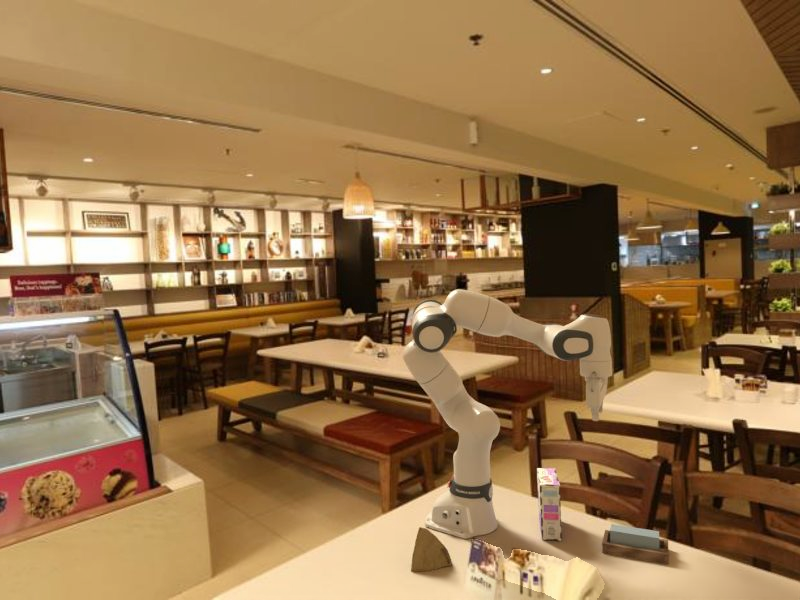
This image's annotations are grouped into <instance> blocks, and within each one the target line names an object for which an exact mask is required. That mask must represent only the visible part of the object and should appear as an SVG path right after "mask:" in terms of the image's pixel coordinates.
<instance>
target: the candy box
mask: <svg viewBox="0 0 800 600" xmlns="http://www.w3.org/2000/svg"><path fill="white" fill-rule="evenodd" d="M536 481H537V500H538V502H537V503H538V516H539V517H538V519H539V529H540V534H541V540H542V541H555V542H556V541H557V542H561V541H563V536H562V509H561V508H562V507H561V506H562V505H561V484H560V480H559V477H558V473H557V470H556V468H555V467H553V468H552V467H546V468H545V467H544V468H543V467H537V468H536Z"/></svg>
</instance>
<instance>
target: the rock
mask: <svg viewBox="0 0 800 600" xmlns="http://www.w3.org/2000/svg"><path fill="white" fill-rule="evenodd" d="M416 534H417V535H416V538H415V543H414V547H413V553H412V556H411V557H412V558H411V565H410V566H411V568H410V572H411V573H413V572H427V571H432V570H436V569H441V568H443V567H449V566H452V565H453V562H452V558H451V555H450V553H449V551H448V549H447V547H446V546H445V544H443V543H442V541H441V540H440V539H439V538H438V537H437V536H436V535H435V534H434V533H432V531H430V530H429V529H427V528H426V527H421V526H420V527H419V528H418V531H417V533H416Z"/></svg>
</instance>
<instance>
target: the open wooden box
mask: <svg viewBox="0 0 800 600" xmlns="http://www.w3.org/2000/svg"><path fill="white" fill-rule="evenodd" d="M603 533H604V534H603V538H602V543H601V546H602V547H601V548H602V550H601V551H602V553H603V554H607V555H608V554H609V555H615V556H619V557H626V558H630V559H631V558H632V559H637V560H642V561H647V562H654V563H659V564H665V565H669V564H670V563H669V559H670V558H669V540H668V539H664V538H659V542H660V551H655V550H649V549H643V548H638V547H632V546H626V545H620V544H614V543H610V529H609V530H607V529H605V530H604V532H603Z"/></svg>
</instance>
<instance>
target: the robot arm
mask: <svg viewBox="0 0 800 600" xmlns="http://www.w3.org/2000/svg"><path fill="white" fill-rule="evenodd" d="M458 328H459V329H460V328H461V329H466V330H469V331H472V332H474V333H477V334H480V335H483V336H488V337H494V338H500V337H504V336H510V337H515V338H518V339H520V340H523V341H526V342H529V343H532V344H533V345H535V346H536V347H537V348H538V350H540V351H541V352H542V353H544V354H545V355H547V356H550V357H554V358H556V359H559V360H561V361H565V362H570V361H575V360H579V375H580V376H581V377H583V378H584V381H585V382H586V383H585V405H586V408H588V409H590V413H591V420H592V421H593V422H599V421H600V413H602V412H603V409H604V408H603V405H604V399H605V396H606V395H607V390H608V381H609V380H608V379H609V378H610V377H612V376H613V362H612V360H613V358H612V356H611V346H612V337H611V336H612V334H611V328H610V323H609V320H608V319H607V318H606V317H605V316H603V315H598V314H597V315H596V314H591V313H583V314H580V315H579V317H577V318H576V319H575V320H574V321H572V322H570V323H568V324H566V325H562V324H559V323H554V322H553V323H552V322H551V323H543V324H542V323H538V322H535V321H533V320H531V319H526V318H525V317H521V316H519V315H517V314H516V313H514V311H513V310H512V308H511V307H510V306H509V305H508V304H506V303H505V302H503V301H501V300H499V299H497V298H495V297H492V296H489V295H487V294H484V293H480V292H476V291H472V290H467V289H461V288H457V289H454V290H452V291H451V292H450V293H449V294H448V295H447V297H446V299H445V301H444V302H443V303H442V302H440V301H439V300H436V299H430V298H429V299H424V300H422V301H421V302H419V303H418V304H417V305H416V306H415V308H414V310H413V313H412V319H411V331H412V332H411V334H412V338H413V339H412V340H411V341H410V342H408V343H407V344H406V346H405V347H404V349H403V351H402V359H403V361H404V363H405V365H406V367H407V368H408V370H409V372H410V374H411V375H412V376H413V378H414V379H415V381H416V383H418V384H419V386H420V387H421V388H422V389H423V391H424V392H425V393H426V394H427V396H428V397H429V398H430V399H431V401H432V402H433V404H434V406H435V408H436V409H437V410H438V412H439V414H440V415H441V417H442V418H443V420H444V421H445V423H446V424H447V425H448V427H450V428H451V430H454V431H455V432H457V434H458V444H457V448H456V450H455V451H454V453H453V455H452V456H453V457H452V460H453V461H452V462H453V463H452V464H453V475H452V476H451V478H450V479H449V480H448V482H447V483H446V485H447V490H446V491H445V492H444V493H442V494H441V495H439V496H438V497H437V498H436V499H435V501H434V502H433V505H432V509H431V511H430V512H429V513H428V514H427V515H426V517H425V519H424V526H425V528H426V527H427V528H428V527H429V528H428V529H433V530H434V531H438V532H442V533H444V534H448V535H451V536H455V537H458V538H461V539H464V540H465V539H471V538H473V537H477V536H484V535H488V534H490V533H493V532H494V531H496V529H498V527H499V523H498V521H497V518H496V514H495V509H494V505H493V496H494V495H493V494H494V492H493V491H494V489H493V488H494V487H493V483H492V482H493V481H492V478H491V463H490V460H491V459H490V453H491V448H492V443H493V440H495V439H496V438H497V436H498V435H499V432H500V431H501V421H500V419H499V416H498V415H497V414H496V413H495V412H494V411H493V409H492V408H491V407H489V406H487V405H485V404H483V403H480V402H479V401H476V400H475V399H474V398H473V397H472V396H471V395H469V393H468V391H467V390H466V387H465V386H464V384H463V379H462V377H461V376H460V375H459V374H458V372H457V371H456V370H455V368H454V367H453V366H452V365H451V363H450V362H449V361H448V359H447V357H445V355H444V354H443V353H442V350H443V349H444V348H445V347H446V346H447V345H448V344H449V342H450V341H451V339H452V338H453V337H454V336H455V334H456V333H457V332H458ZM448 488H449V489H448Z"/></svg>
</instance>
